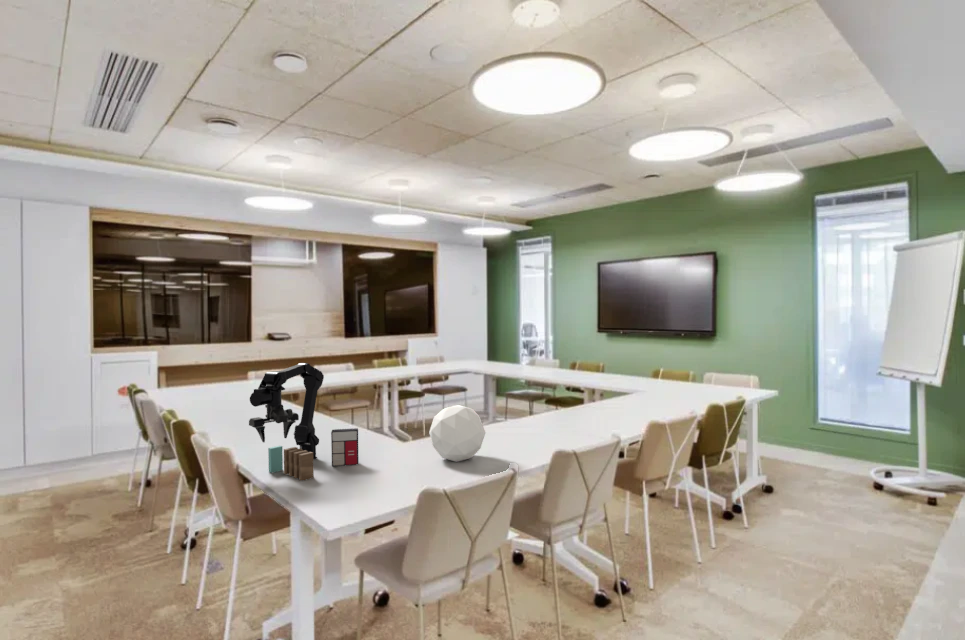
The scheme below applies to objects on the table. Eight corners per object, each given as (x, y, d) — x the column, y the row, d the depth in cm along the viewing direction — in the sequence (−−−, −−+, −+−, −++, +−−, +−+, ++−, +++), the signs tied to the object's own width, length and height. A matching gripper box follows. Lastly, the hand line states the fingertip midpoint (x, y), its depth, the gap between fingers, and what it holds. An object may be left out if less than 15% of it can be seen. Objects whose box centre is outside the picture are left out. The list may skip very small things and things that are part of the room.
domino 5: (299, 479, 206) (298, 454, 206) (310, 476, 210) (310, 451, 210) (301, 480, 205) (301, 455, 205) (313, 477, 209) (313, 452, 209)
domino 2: (284, 473, 214) (283, 449, 214) (295, 470, 218) (295, 446, 218) (286, 474, 213) (286, 450, 213) (298, 471, 217) (297, 447, 217)
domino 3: (289, 475, 212) (288, 450, 212) (300, 472, 216) (300, 448, 215) (291, 476, 210) (291, 451, 210) (303, 473, 214) (302, 449, 214)
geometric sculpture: (463, 482, 228) (460, 445, 212) (421, 454, 240) (415, 417, 224) (496, 446, 242) (495, 409, 226) (454, 421, 254) (451, 385, 239)
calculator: (331, 467, 223) (331, 431, 223) (332, 464, 227) (331, 429, 227) (358, 465, 225) (357, 430, 225) (358, 462, 230) (358, 428, 229)
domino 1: (268, 472, 217) (268, 447, 217) (280, 469, 221) (279, 445, 221) (271, 473, 216) (270, 448, 215) (282, 470, 219) (282, 446, 219)
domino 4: (294, 477, 209) (293, 452, 209) (305, 474, 213) (305, 450, 213) (296, 478, 208) (296, 453, 208) (308, 475, 212) (307, 450, 211)
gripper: (260, 407, 205) (260, 448, 205) (304, 401, 218) (305, 439, 219) (248, 404, 212) (248, 443, 213) (292, 398, 226) (292, 435, 226)
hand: (274, 440), depth 217 cm, fingers open, 9 cm apart
